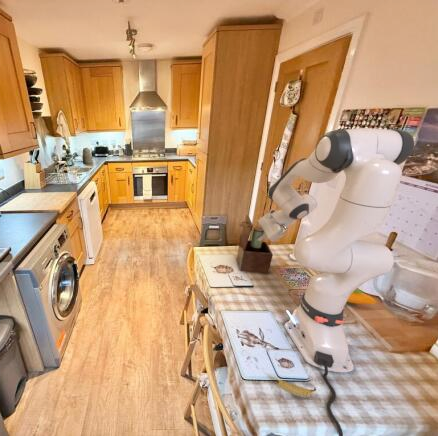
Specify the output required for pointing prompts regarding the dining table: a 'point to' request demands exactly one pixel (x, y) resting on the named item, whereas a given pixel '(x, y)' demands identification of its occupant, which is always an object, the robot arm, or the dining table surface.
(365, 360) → the dining table surface
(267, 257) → the box
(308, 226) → the candle
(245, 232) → the lid
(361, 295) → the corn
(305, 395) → the banana
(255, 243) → the spice jar
